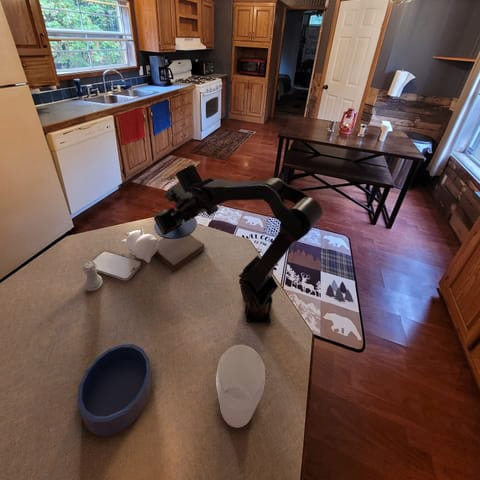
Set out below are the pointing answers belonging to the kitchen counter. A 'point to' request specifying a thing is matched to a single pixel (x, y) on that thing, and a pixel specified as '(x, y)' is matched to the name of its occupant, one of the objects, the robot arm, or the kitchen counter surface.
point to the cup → (239, 384)
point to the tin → (115, 389)
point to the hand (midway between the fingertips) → (173, 219)
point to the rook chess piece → (92, 277)
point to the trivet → (178, 250)
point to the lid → (179, 229)
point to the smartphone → (116, 265)
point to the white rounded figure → (141, 244)
